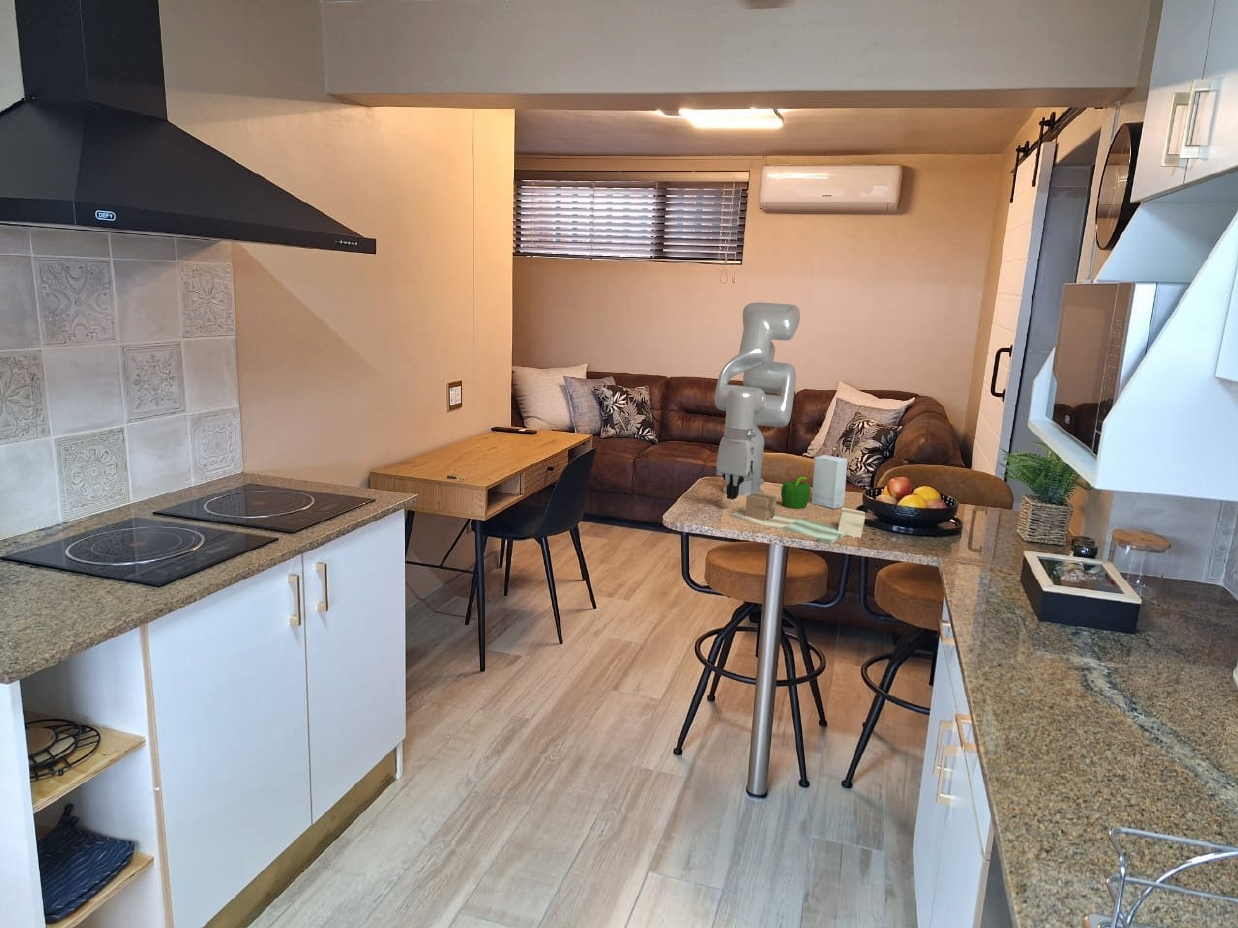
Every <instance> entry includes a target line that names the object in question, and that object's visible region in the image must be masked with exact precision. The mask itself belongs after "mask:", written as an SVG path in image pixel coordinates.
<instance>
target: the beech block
mask: <svg viewBox="0 0 1238 928" xmlns="http://www.w3.org/2000/svg"><path fill="white" fill-rule="evenodd" d="M865 520H866V512H865V511H861V510H857V509H852V508H846V507H841V510H840V514H839V519H838V524H837V527H838V531H839V532H845V536H844V537H849V536H853V537H852V538H855V537H859V538H858V539H861V538H862V533H863V530H864V526H865Z"/></svg>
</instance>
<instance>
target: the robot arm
mask: <svg viewBox="0 0 1238 928" xmlns="http://www.w3.org/2000/svg"><path fill="white" fill-rule="evenodd" d="M800 320H801V312H800V308H799V307H798V306H797V305H795V304H790V303H789V304H788V303H776V302H759V301H758V302H752V303H748V304H746V305H745V306H744V308H743V310H742V327H743V330H742V336H741V340H740V346H739V351H738V354H736V355H735V356H734V357H732V358H731V359H730V360H729V361H728V362H727V363H726V364H724V366H723V368H722V369H721V371H720V373H719V375H718V378H717V382H716V383H717V384H716V387H715V391H714V392H715V393H714V405H715V407H716V408H717V409H718V410H719V411H724V412H725V413H726V414H725V424H724V434H723V435H724V436H722V437H721V440H720V442H719V447H718V449H717V450H718V451H717V457H716V462H715V463H716V467H715V468H716V472H715V474H716V475H717V476H719V477H721V478H722V479H723V480H724V482H725V483H724V484H725V485H726V486H724V487H723V490H722V491H723V494H726V499H727V500H736V499H737V498H738V496H741V497H747V495H750V494H753V493H755V492H759V493H764V494H765V492H764V491H763V490H762V489H761V485H763V484H765V483H764V479H763V478H762V467H763V458H764V448H765V437H764V435H763V433H762V432H761V430H760V429H759V426H761V427H762V426H764V427H773V428H785V427H787V426H788V424H790V421H791V417H792V412H793V404H794V399H795V398H794V397H795V389H796V382H797V381H796V380H797V374H796V369H795V367H794V365H792V364H790V363H788V362H779V361H774V359H775V353H776V348H775V347H776V346H775V344H774V342H773V341H774V340H775V341H791V340H792V339H793V337H794V336H795V334H796V331H797V330H798V327H799V326H800V325H799V324H800ZM772 340H773V341H772ZM741 373H743V376H742V384H743V385H735V384H729V383H730V381H731V380H732V378H734V377H735V376H737V375H739V374H741ZM766 393H767V394H766ZM768 393H770V394H768Z"/></svg>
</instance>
